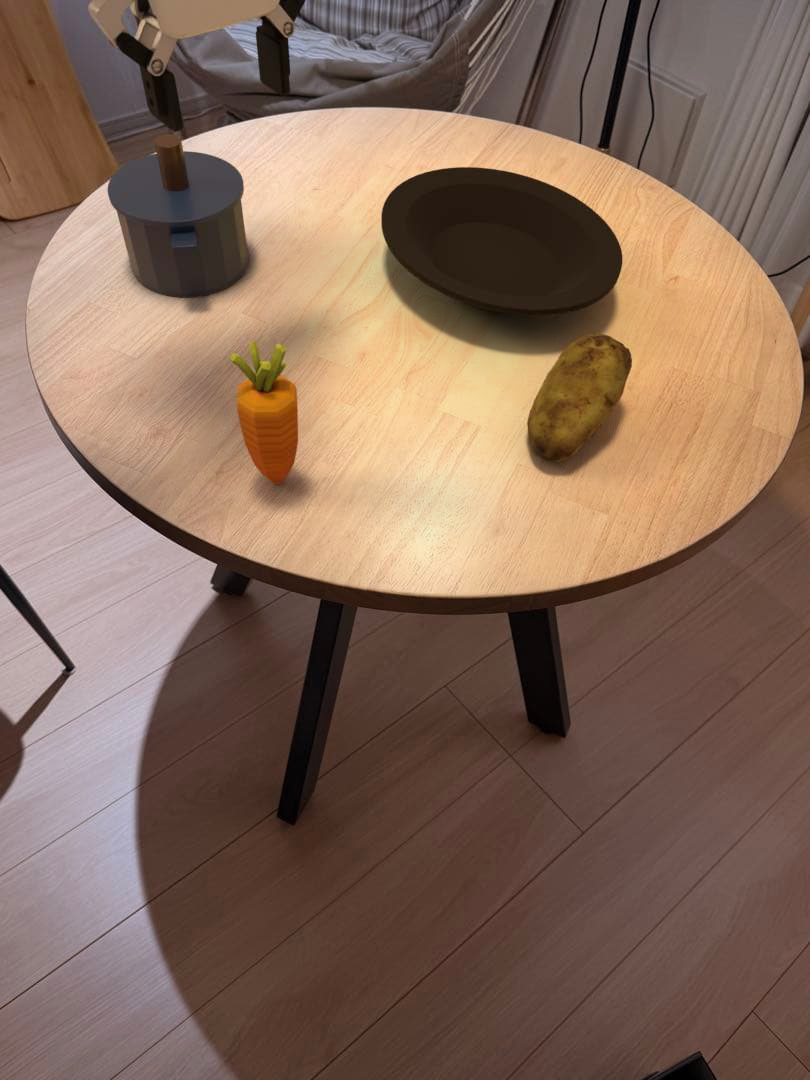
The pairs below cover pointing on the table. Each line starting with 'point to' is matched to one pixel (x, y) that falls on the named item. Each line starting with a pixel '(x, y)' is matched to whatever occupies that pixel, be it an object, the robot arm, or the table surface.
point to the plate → (501, 241)
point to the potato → (577, 396)
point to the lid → (175, 186)
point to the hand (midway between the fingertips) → (223, 105)
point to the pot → (188, 254)
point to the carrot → (268, 413)
